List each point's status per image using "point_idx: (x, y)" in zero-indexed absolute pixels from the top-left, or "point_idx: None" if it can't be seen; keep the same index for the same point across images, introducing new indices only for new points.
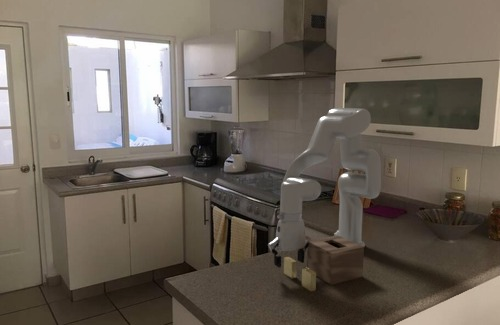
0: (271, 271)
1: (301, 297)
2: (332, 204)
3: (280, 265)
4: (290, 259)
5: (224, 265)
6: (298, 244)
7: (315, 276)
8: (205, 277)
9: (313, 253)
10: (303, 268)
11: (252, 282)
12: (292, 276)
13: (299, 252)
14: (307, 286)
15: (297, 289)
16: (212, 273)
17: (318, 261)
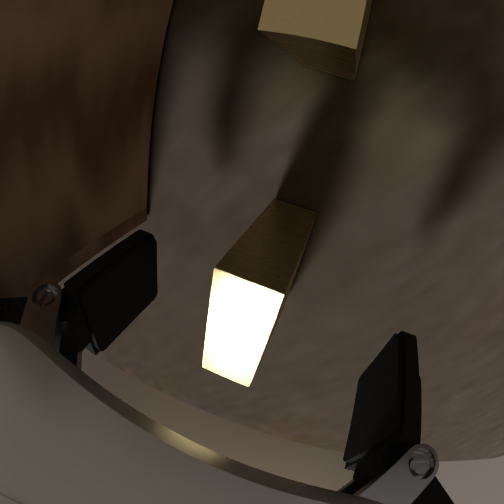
0: (311, 354)
1: (481, 4)
2: None
3: (408, 344)
4: (233, 337)
5: None
6: (32, 442)
7: None
8: (481, 439)
9: (25, 212)
10: (336, 35)
11: (482, 349)
12: (307, 216)
13: (103, 325)
14: (370, 6)
15: (426, 74)
16: (449, 446)
17: (60, 120)
